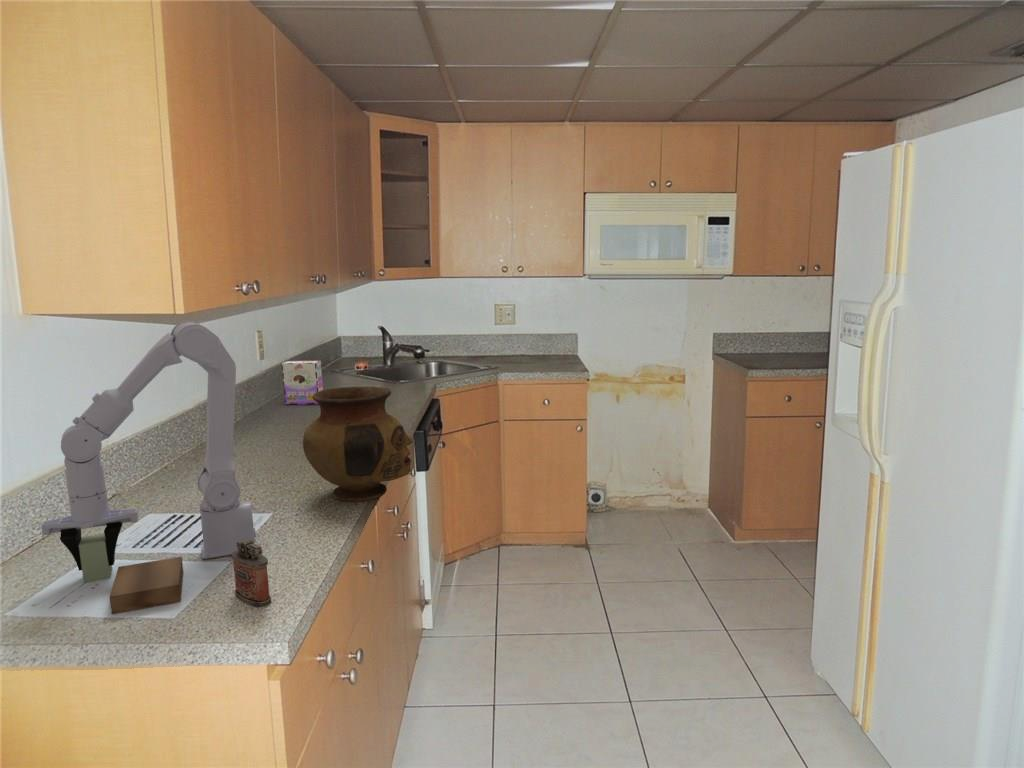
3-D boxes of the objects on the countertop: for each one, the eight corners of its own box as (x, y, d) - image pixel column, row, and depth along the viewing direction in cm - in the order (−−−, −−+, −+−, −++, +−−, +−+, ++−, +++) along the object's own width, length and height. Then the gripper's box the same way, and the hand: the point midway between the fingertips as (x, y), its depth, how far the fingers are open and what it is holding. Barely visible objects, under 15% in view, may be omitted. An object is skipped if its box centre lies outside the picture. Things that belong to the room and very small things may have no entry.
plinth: (183, 572, 127) (181, 556, 126) (180, 601, 116) (178, 584, 115) (120, 582, 123) (118, 566, 122) (111, 614, 112) (109, 596, 112)
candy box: (324, 401, 276) (321, 360, 273) (318, 404, 270) (316, 362, 267) (290, 401, 277) (287, 360, 274) (284, 404, 272) (281, 362, 269)
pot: (347, 475, 184) (343, 380, 180) (428, 484, 175) (425, 385, 171) (284, 504, 161) (277, 396, 157) (373, 516, 152) (369, 402, 148)
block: (112, 569, 129) (107, 533, 127) (109, 578, 125) (104, 540, 124) (87, 573, 127) (82, 536, 126) (83, 582, 123) (78, 544, 122)
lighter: (230, 596, 118) (224, 539, 116) (248, 588, 120) (243, 532, 118) (257, 610, 113) (252, 551, 111) (276, 601, 115) (271, 544, 113)
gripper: (33, 506, 117) (44, 582, 119) (131, 493, 122) (140, 566, 125) (42, 493, 123) (53, 566, 126) (135, 482, 129) (144, 552, 131)
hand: (97, 565), depth 126 cm, fingers closed on block, 4 cm apart
